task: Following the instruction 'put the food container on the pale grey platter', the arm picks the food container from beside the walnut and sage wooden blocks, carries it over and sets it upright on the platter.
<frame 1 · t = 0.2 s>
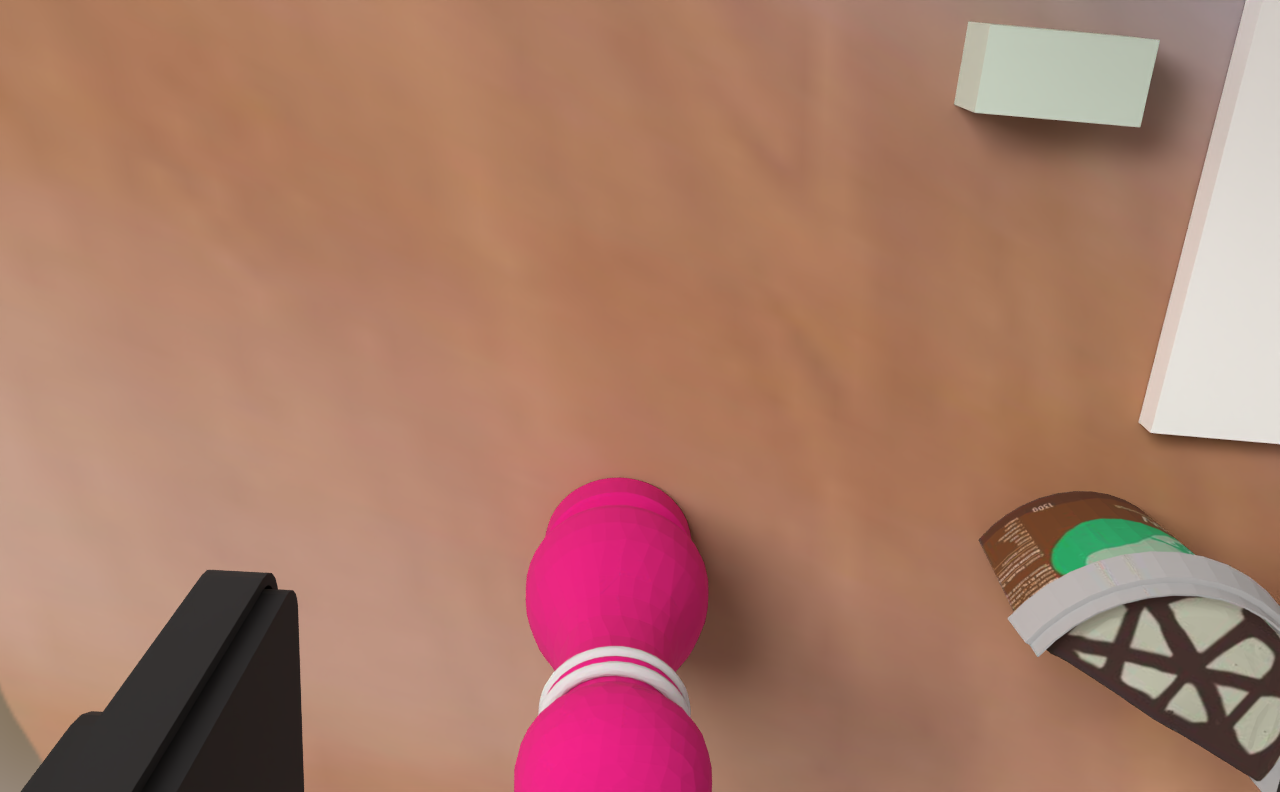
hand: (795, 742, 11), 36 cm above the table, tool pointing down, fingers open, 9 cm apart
food container: (1106, 538, 51), on the table
sage block: (1038, 70, 44), on the table
pepper mill: (618, 540, 51), on the table
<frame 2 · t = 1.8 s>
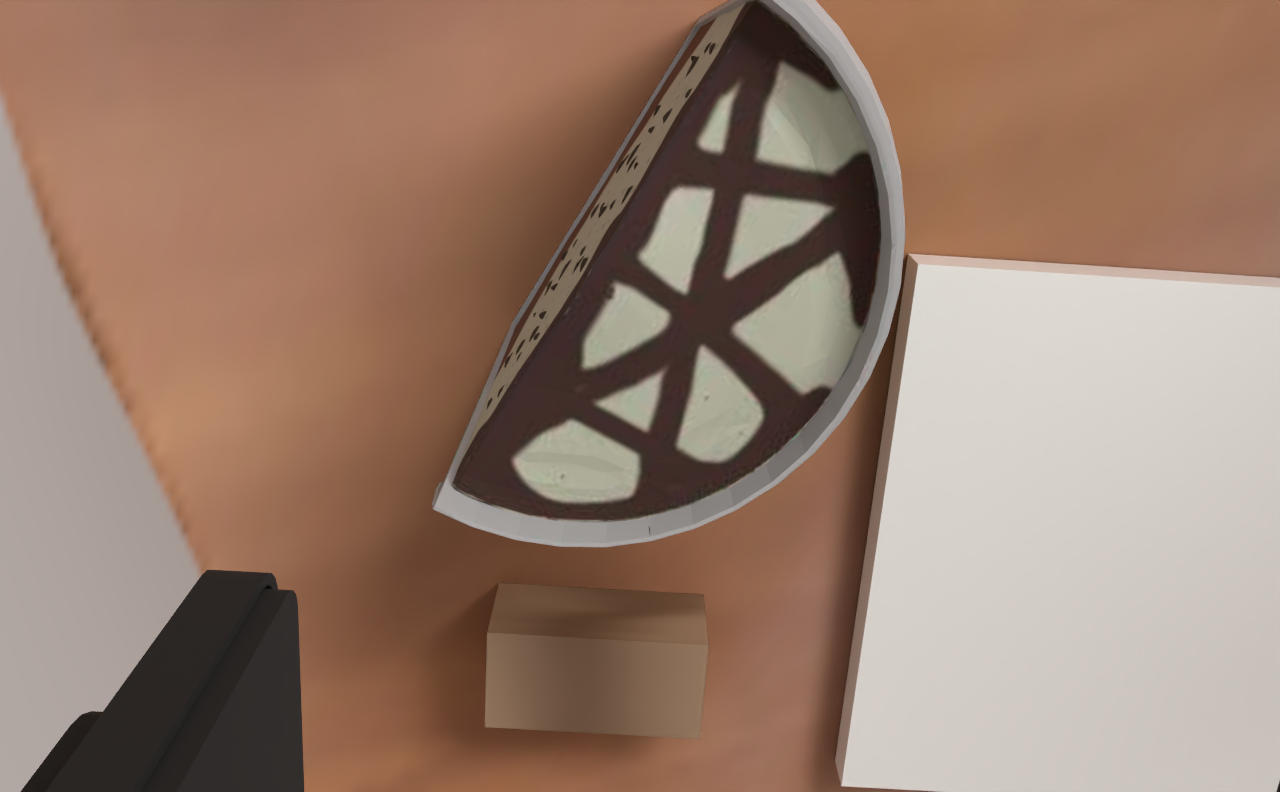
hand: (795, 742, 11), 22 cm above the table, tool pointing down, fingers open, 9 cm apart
platter: (1161, 544, 34), on the table
walnut block: (598, 630, 35), on the table
food container: (700, 238, 31), on the table
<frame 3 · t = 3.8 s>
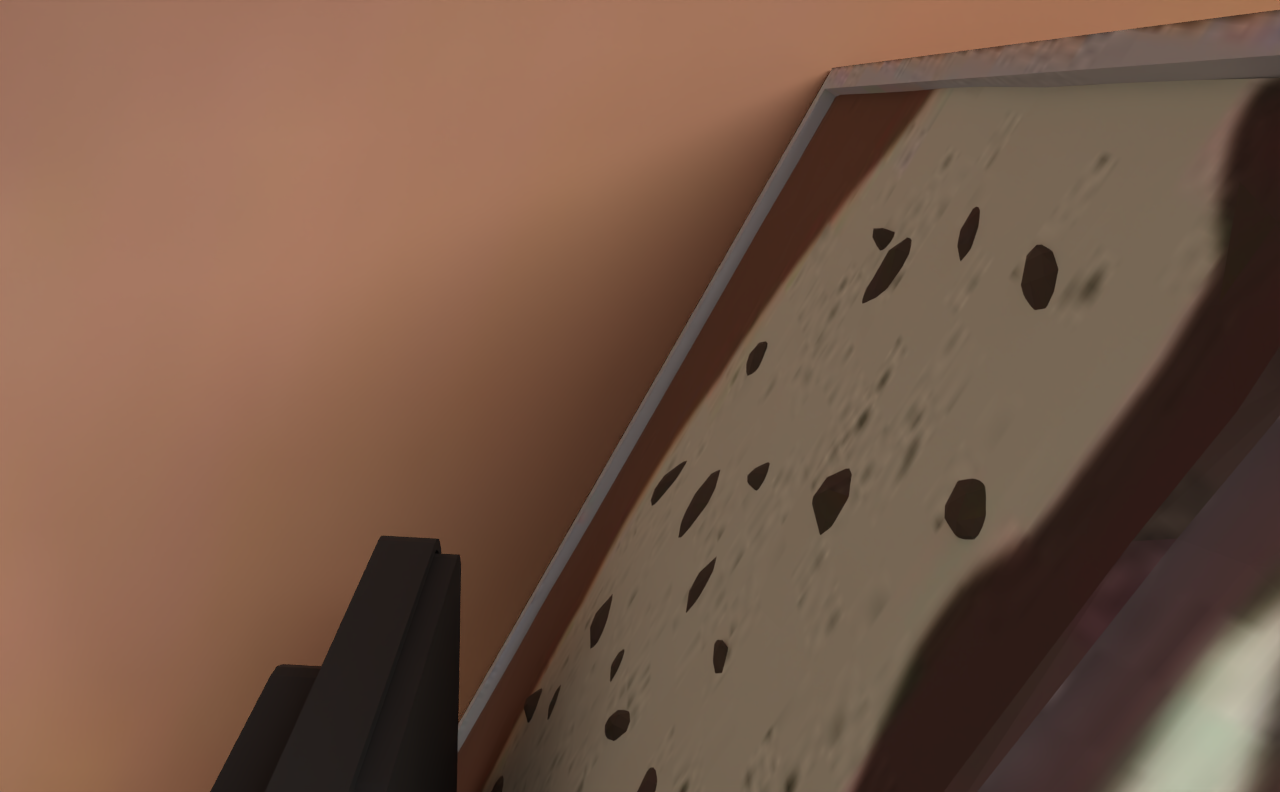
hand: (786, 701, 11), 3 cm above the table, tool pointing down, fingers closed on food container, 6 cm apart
food container: (847, 553, 14), on the table, touching gripper
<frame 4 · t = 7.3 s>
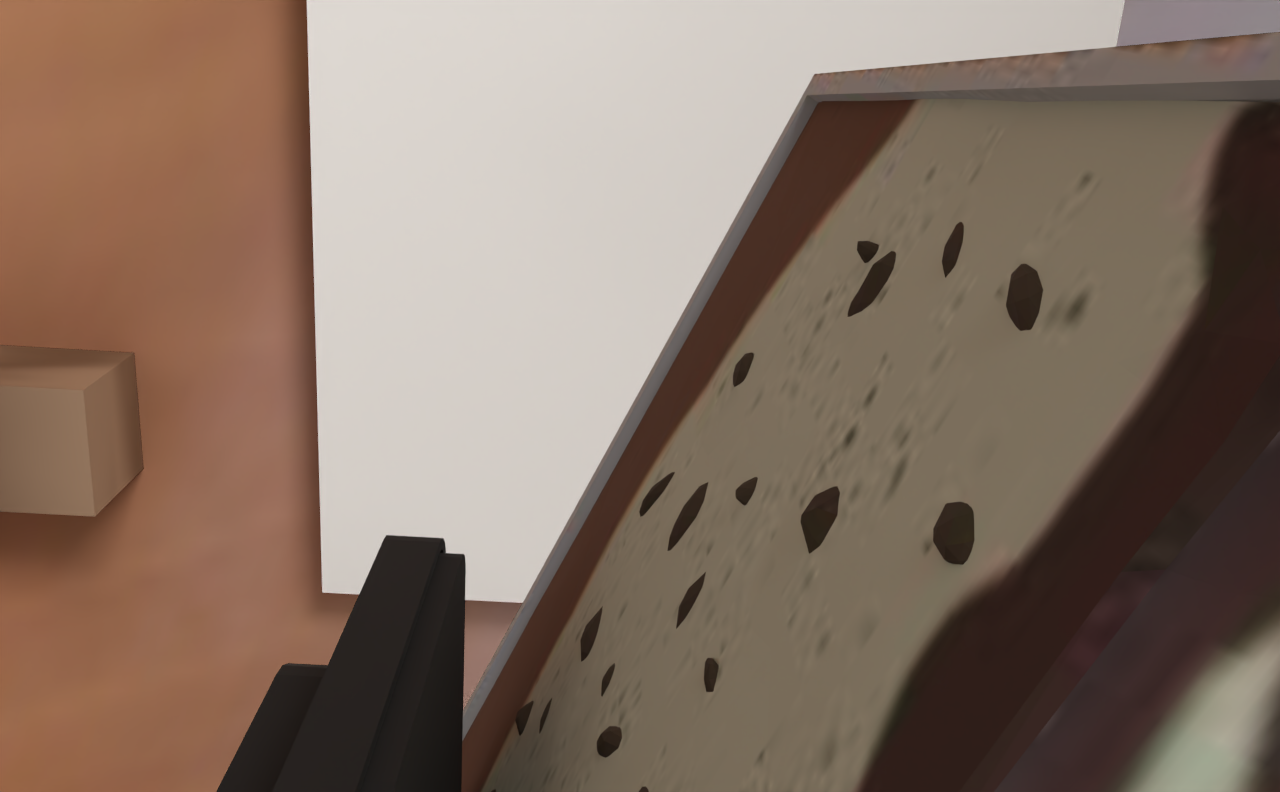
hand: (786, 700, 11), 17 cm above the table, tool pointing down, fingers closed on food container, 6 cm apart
platter: (690, 284, 28), on the table
walnut block: (17, 402, 29), on the table
food container: (836, 557, 14), point 15 cm above the table, touching gripper
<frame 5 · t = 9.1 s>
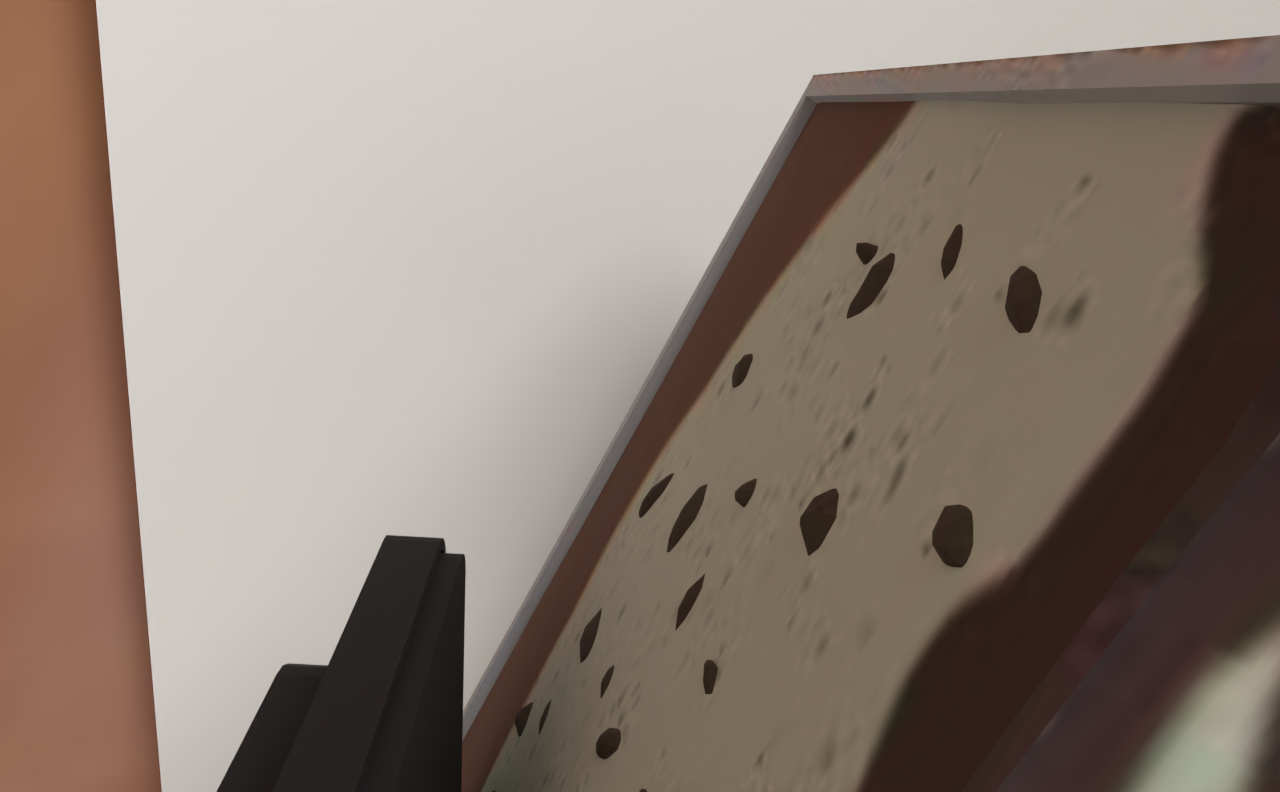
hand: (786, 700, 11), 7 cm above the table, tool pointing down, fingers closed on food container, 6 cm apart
platter: (735, 439, 18), on the table
food container: (835, 558, 14), point 4 cm above the table, touching gripper
when the fingers open (5 cm above the table, at t = 10.4 s): food container drops 1 cm, resting on platter.
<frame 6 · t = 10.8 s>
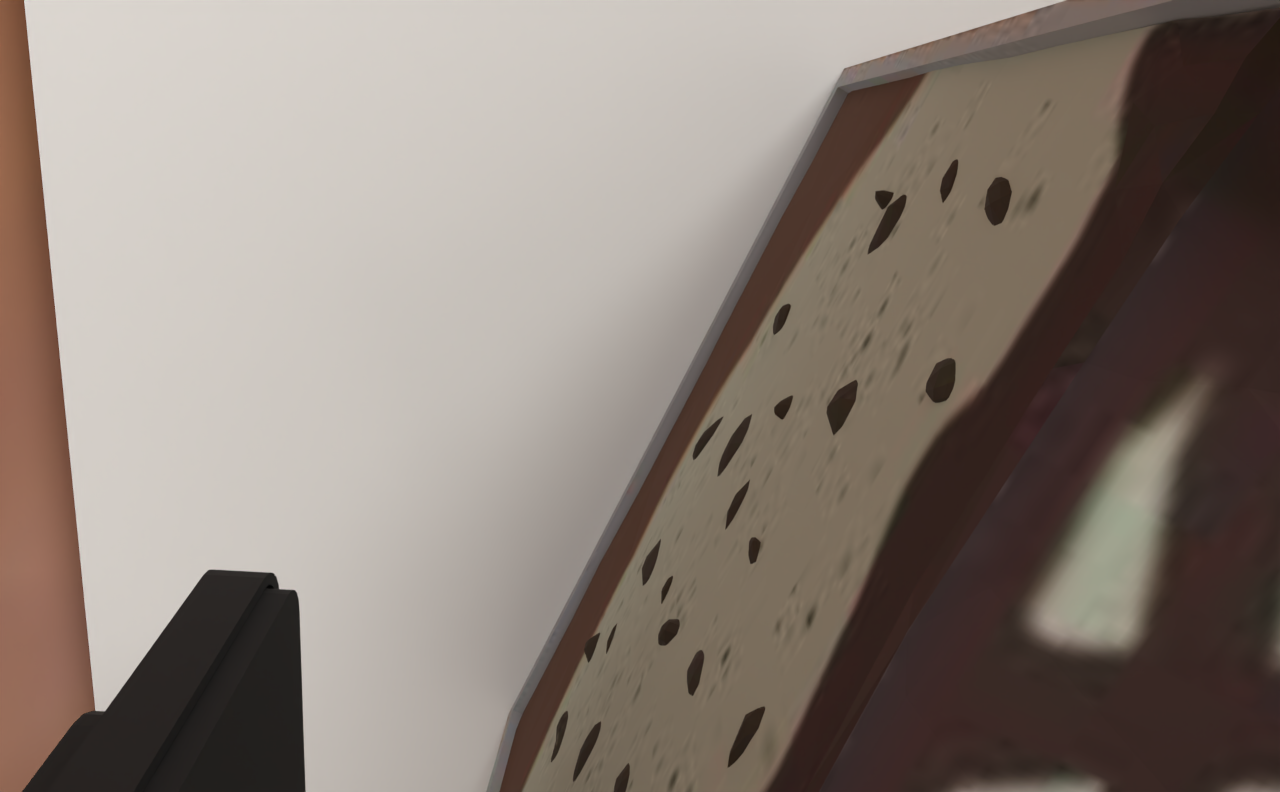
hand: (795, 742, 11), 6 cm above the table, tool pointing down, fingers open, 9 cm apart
platter: (737, 487, 16), on the table
food container: (876, 517, 15), point 1 cm above the table, touching gripper, platter
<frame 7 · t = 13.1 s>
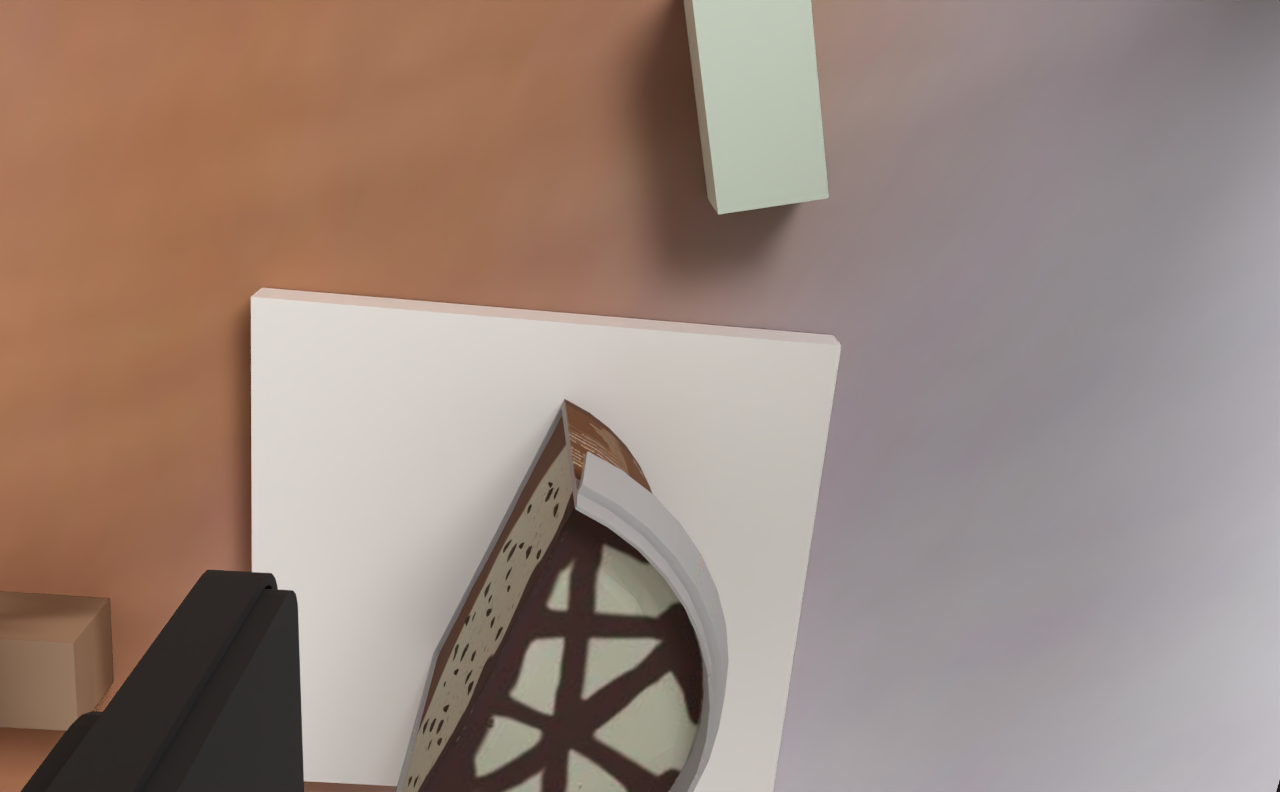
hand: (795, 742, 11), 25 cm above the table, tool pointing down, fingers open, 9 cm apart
platter: (533, 555, 38), on the table
walnut block: (17, 631, 38), on the table
food container: (587, 566, 37), point 1 cm above the table, touching platter
sage block: (746, 85, 34), on the table
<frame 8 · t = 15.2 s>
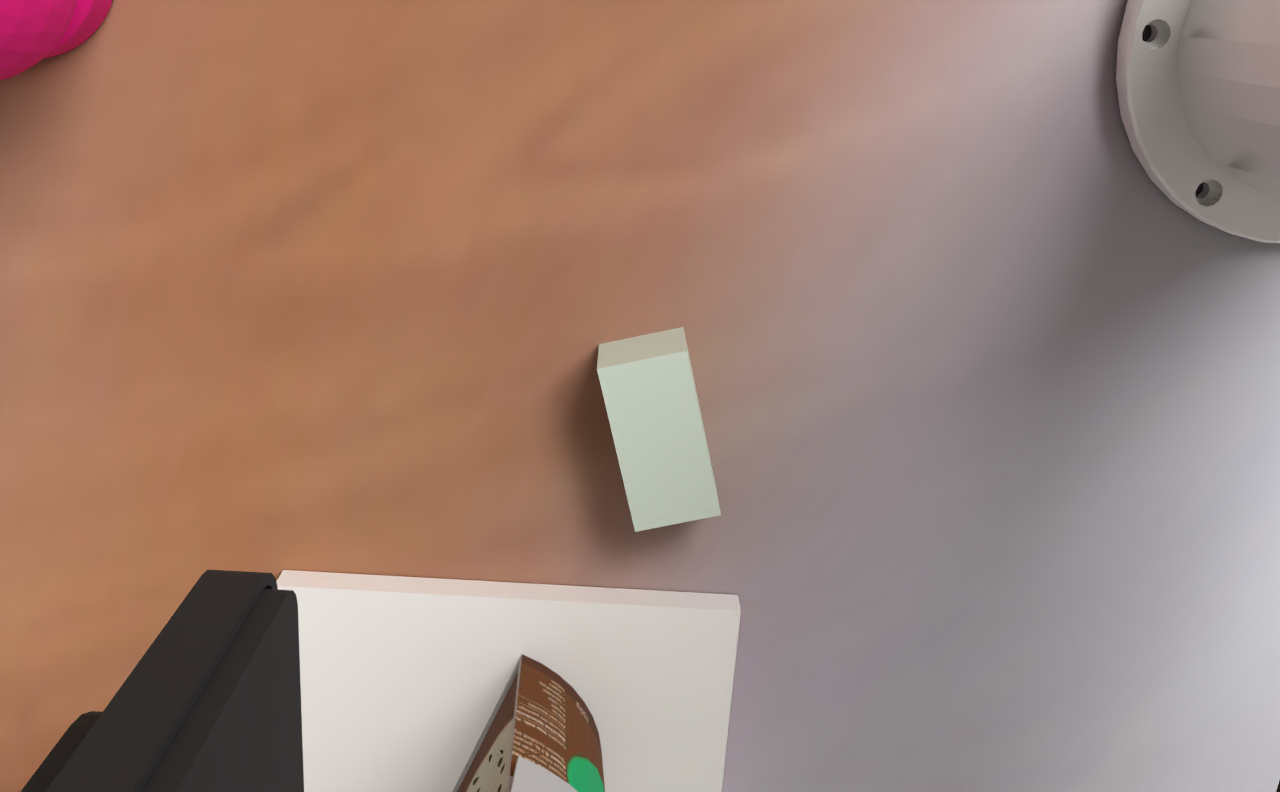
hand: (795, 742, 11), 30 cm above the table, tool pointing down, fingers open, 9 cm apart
platter: (505, 762, 47), on the table
food container: (546, 775, 46), point 1 cm above the table, touching platter
sage block: (658, 412, 42), on the table
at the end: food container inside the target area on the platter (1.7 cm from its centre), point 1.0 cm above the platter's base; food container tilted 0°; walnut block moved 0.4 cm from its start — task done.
